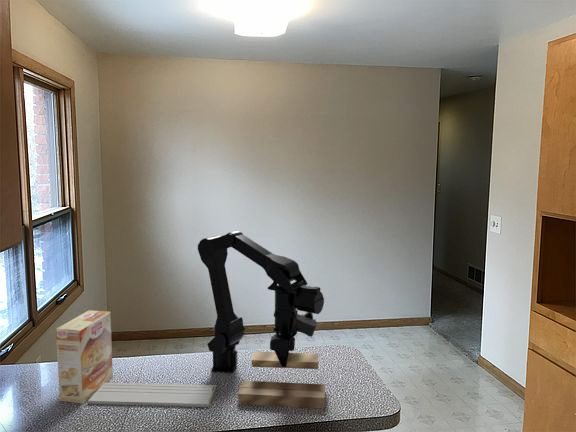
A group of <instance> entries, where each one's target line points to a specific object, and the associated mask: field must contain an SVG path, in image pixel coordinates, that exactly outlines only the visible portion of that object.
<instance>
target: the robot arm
mask: <svg viewBox="0 0 576 432" xmlns="http://www.w3.org/2000/svg"><path fill="white" fill-rule="evenodd" d="M230 248H232V249H234V250H235V251H237V252H239V253H240V254H241V255H243V256H244V257H246V258H247V259H249V260H250V261H252V262H254V263H255V264H257V265H258V266H259V267H261V268H262V269H263V270H264V272H265V274H266V275H267V277H269V278H270V279H271V280H272V283H271V284H270V285H269V286H268V287H267V290H270V291H273V292H274V312H273V317H274V327H273V332H275V334H273V335H272V336H271V337H270V341H269V350H271V351H273V352H275V353H276V355H277V357H278V359H279V362H280V364H281V366H282V367H286V364H287V359H288V354H289V353H290V352H293V351H295V348H296V338H295V336H297V334H298V332H299V333H302V334H304V335H306V336H307V337H310V338H311V337H314V335H315V334H314V333H315V331H316V329H317V325H318V322H317V320H316V318H314V314H316V315H319V314H321V312H322V311H323V308H324V304H325V297H324V294H323V292H321V287H319V286H310V285H308V282H307V280H306V278H305V277H304V276H303V274H302V271H301V270H300V267H299V264H298V262H297V261H295V260H294V259H291V258H289V257H286V256H283V255H280V254H279V255H278V254H275V253H272V252H271V251H270V250H268V249H266V248H264V247H263V246H262V245H260V244H258V243H257V242H255V241H254V240H253V239H251V238H249V237H247V236H246V235H244V233H243V232H241V231H240V230H235V231H231V232H227V233H226V234H224V235H214V236H213V235H212V236H210V237H205V238H201V240H199V242H198V244H197V252H198V255H199V257H200V260H201V262H202V263H203V264H204V265H205V267H206V268H207V271H208V276H209V281H210V285H211V286H210V287H211V290H212V296H213V300H214V306H215V311H216V320H215V324H214V327H213V328H214V329H213V330H214V337H213V338H212V339H210V340H209V342H208V343H207V347H208V351H209V352H212V367H211V369H210V370H211V372H219V373H221V372H222V373H223V372H224V373H233V372H234V370H235V369H236V368H237V366H238V363H239V362H238V351H237V350H236V346H237V345H240V342H241V340H242V339H243V337H244V336H245V331H246V328H245V327H244V320H243V317H238V315H236V314H235V311H234V307H233V301H232V295H231V290H230V285H229V280H228V275H227V270H226V261H227V259H228V254H229V253H228V249H230ZM293 281H294V282H293ZM298 311H300V312H305V314H303V313H302V314H299V313H298Z"/></svg>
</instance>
